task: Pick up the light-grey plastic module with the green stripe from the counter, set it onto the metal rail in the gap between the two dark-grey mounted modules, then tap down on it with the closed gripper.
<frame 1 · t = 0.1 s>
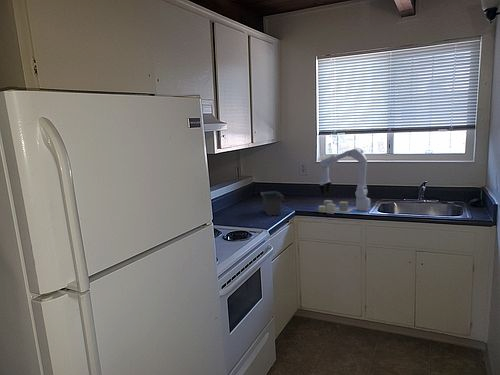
hand: (325, 193, 284), 10 cm above the counter, fingers open, 7 cm apart
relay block: (321, 211, 270), on the counter
module: (330, 212, 265), on the counter
din rail: (335, 209, 273), on the counter
storage bin: (273, 213, 273), on the counter
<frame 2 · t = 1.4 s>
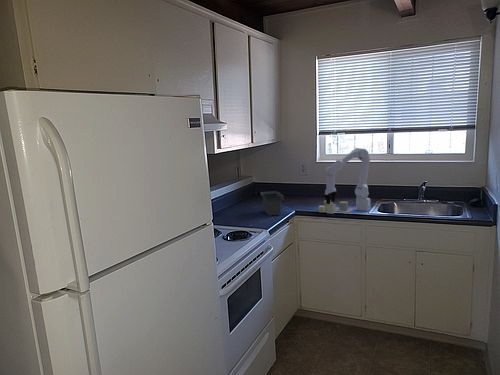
hand: (330, 202, 264), 7 cm above the counter, fingers open, 7 cm apart
nothing on the counter moved.
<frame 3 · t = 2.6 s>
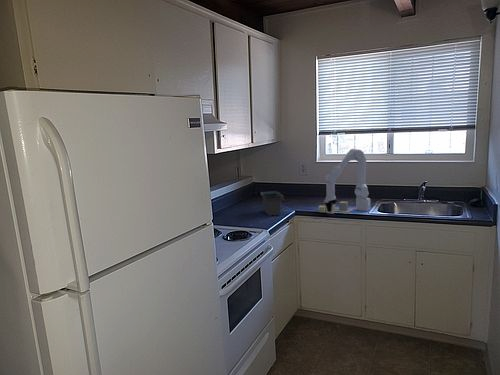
hand: (330, 210, 265), 1 cm above the counter, fingers closed on module, 4 cm apart
module: (330, 212, 265), on the counter, touching gripper
everything else where it was.
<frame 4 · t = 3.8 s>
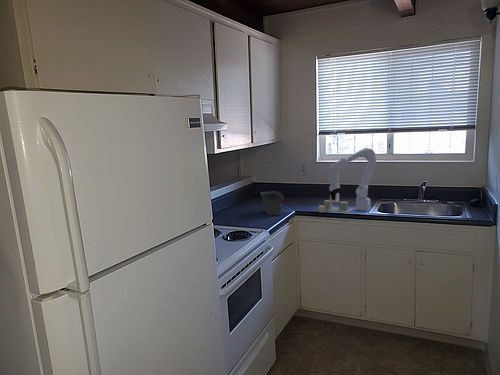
hand: (334, 199, 269), 8 cm above the counter, fingers closed on module, 4 cm apart
module: (334, 201, 270), point 7 cm above the counter, touching gripper
everything else where it was.
when the fingers open (4 cm above the counter, at t = 5.3 s): module stays where it is, resting on din rail.
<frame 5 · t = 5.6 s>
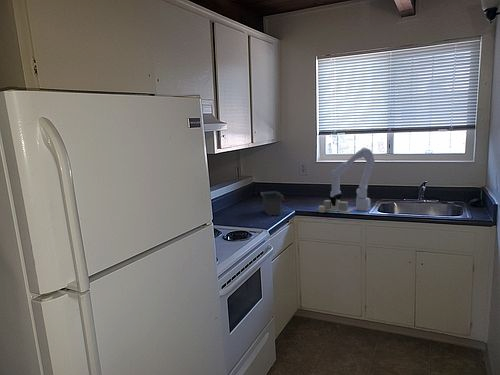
hand: (335, 204, 272), 4 cm above the counter, fingers open, 7 cm apart
module: (335, 208, 272), point 1 cm above the counter, touching din rail
everything else where it was.
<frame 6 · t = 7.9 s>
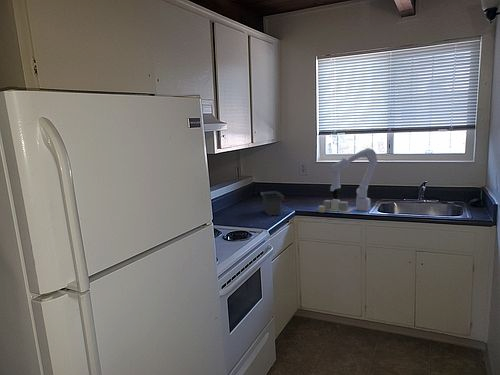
hand: (335, 199, 271), 8 cm above the counter, fingers closed
nothing on the counter moved.
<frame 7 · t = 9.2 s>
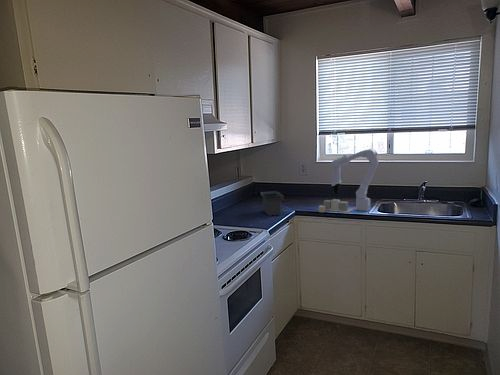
hand: (336, 194, 277), 10 cm above the counter, fingers closed
nothing on the counter moved.
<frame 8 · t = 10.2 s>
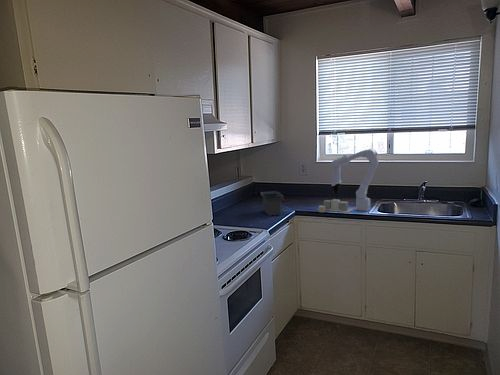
hand: (336, 194, 277), 10 cm above the counter, fingers closed
nothing on the counter moved.
at the end: module 0.1 cm off-centre on the din rail, point 1.2 cm above the din rail's base; module tilted 0°; the gripper is holding nothing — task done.
